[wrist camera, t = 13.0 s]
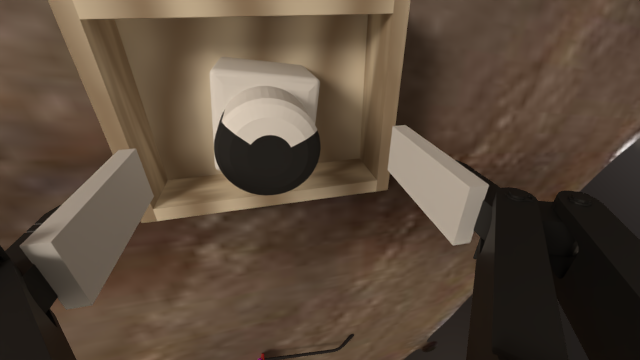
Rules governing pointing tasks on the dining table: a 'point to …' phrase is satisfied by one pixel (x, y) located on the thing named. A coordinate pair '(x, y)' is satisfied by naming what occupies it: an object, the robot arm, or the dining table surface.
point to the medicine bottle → (264, 124)
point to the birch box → (195, 96)
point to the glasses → (276, 359)
